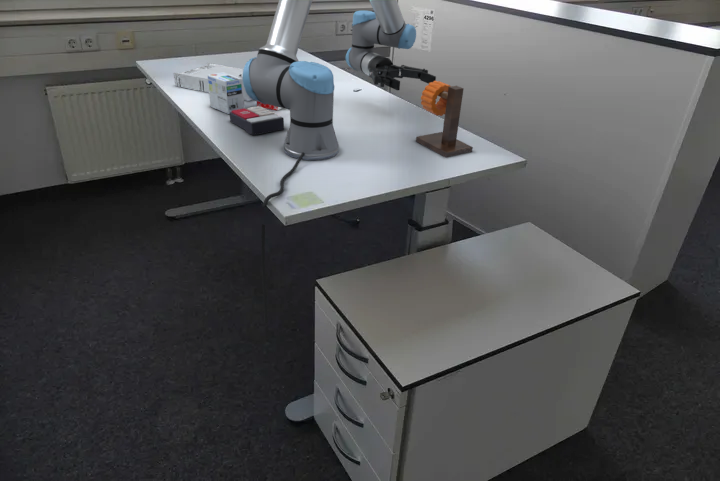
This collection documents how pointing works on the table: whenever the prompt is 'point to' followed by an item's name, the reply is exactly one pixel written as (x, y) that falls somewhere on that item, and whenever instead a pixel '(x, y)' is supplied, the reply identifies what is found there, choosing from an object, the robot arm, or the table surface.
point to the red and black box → (257, 120)
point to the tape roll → (434, 98)
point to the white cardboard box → (206, 77)
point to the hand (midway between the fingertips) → (417, 83)
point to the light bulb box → (225, 92)
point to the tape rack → (448, 127)
